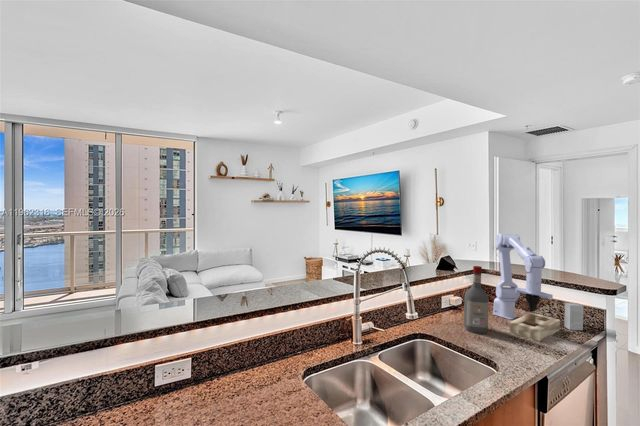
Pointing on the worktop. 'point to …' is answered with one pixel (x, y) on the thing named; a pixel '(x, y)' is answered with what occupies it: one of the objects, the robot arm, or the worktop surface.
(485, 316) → the liquor
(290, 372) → the worktop surface
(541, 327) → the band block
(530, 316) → the walnut peg
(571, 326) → the skincare box
